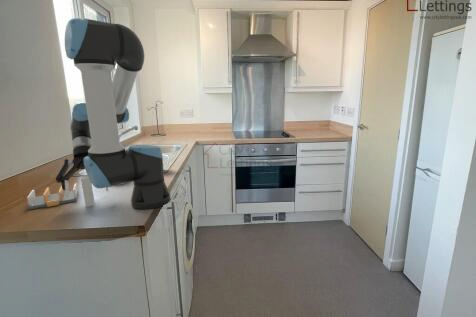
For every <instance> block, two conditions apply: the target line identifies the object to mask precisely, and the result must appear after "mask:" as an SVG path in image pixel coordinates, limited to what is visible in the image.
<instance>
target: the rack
mask: <svg viewBox="0 0 476 317" xmlns="http://www.w3.org/2000/svg"><path fill="white" fill-rule="evenodd" d="M50 191H51V190H50V187H46V189H45V191H44V192H43V194H42V195H39V196H36V193H35V189H32V190H31V191H30V192H29V194H28V196H27V197H26V199H27V203H28V207H27V208H28V210H34V209H40V208H45V207H47V208H48V207H53V206H54V207H55V206H59V205H63V204H67V203H74V202H78V196H79V190H78V185H77V183H76V182H75V183H74V184H73V189H72V190H69V198H67V197H66V192H65V190H63V189H62V185H60V187H59V190H58V192H57V193H52V194H51V192H50Z"/></svg>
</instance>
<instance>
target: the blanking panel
mask: <svg viewBox="0 0 476 317" xmlns="http://www.w3.org/2000/svg"><path fill="white" fill-rule="evenodd" d="M80 182H81V188H82V193H83V200H84V205H85V207H92V206H95V197H94V196H95V195H94V190H93V184H92V183H91V181H90V179H89V177H88V175H87V173H86V174H82V175H81V176H80Z"/></svg>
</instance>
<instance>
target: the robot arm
mask: <svg viewBox="0 0 476 317" xmlns="http://www.w3.org/2000/svg"><path fill="white" fill-rule="evenodd" d="M64 50H65V54H66V57H67V58H68V59H69V60H73V64H74V67H76V68H77V70H79V71H80V74H81V75H80V76H81V81H82V87H83V94H84V101H85V102H82V101H81V102H77V103H76V104H74V106H73V107H72V111H71V112H72V113H71V122H70V132H71V145H72V153H73V154H72V155H73V159H71V160H69V159H66V158H65V159H64V160H63V161H64V162H63V165H62V167H61V168H60V170H59V172H58V174H56V175H57V176H56V177H55V181H56V183H58V184H60V183H61V186H62V189H63V190H64V192H66V197H67V198H69V191H70V189H69V188H70V187H69V180H70V179H71V178H72V176H74V175H75V173H77V172H78V171H79V170H85V172H86V174H87V175H88V177H89V179H90V181H91V183H92V187H95V188H96V189H105V190H106V191H105V192H109V188H112V187H113V186H118V185H123V184H127V183H130V182H133V188H132V193H131V198H130V206H131V207H132V208H134V209H137V210H150V209H151V210H152V209H156V208H160V207H162V206H165V205H167V204H168V203H170V202H171V200H172V199H171V198H172V197H171V193H170V191H169V189H168V186H167V184H166V182H165V174H164V159H163V160H162V158H163V152H162V149H161V148H160V147H159V146H157V145H153V144H151V145H150V144H133V145H130V146H128V150H126V147H125V146H124V145H123V144H121V142H120V135H119V126H118V124H123V123H127V122H128V121H129V120H130V111H129V108H128V107H127V105H128V103H129V99H130V96H131V94H132V90H133V87H134V85H135V84H134V83H135V81H136V78H137V75H138V72H140V71H141V70H142V69H143V67H144V62H145V51H144V46H143V44H142V42H141V40H140V37H138V35H137V34H136V33H135V32H134V31H133V30H132V29H131V28H129V27H127V26H126V25H123V24H120V23H112V22H108V21H107V22H105V21H101V20H96V19H89V18H85V17H84V18H81V17H80V18H79V17H71V18H69V19H68V20H67V22H66V24H65V29H64ZM114 69H115V70H114ZM113 70H114V73H113V74H114V75H113V77H112V71H113ZM161 152H162V153H161ZM72 164H73V165H72ZM71 165H72V166H71ZM70 166H71V168H70V169H69V167H70ZM68 169H69V170H68Z"/></svg>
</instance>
